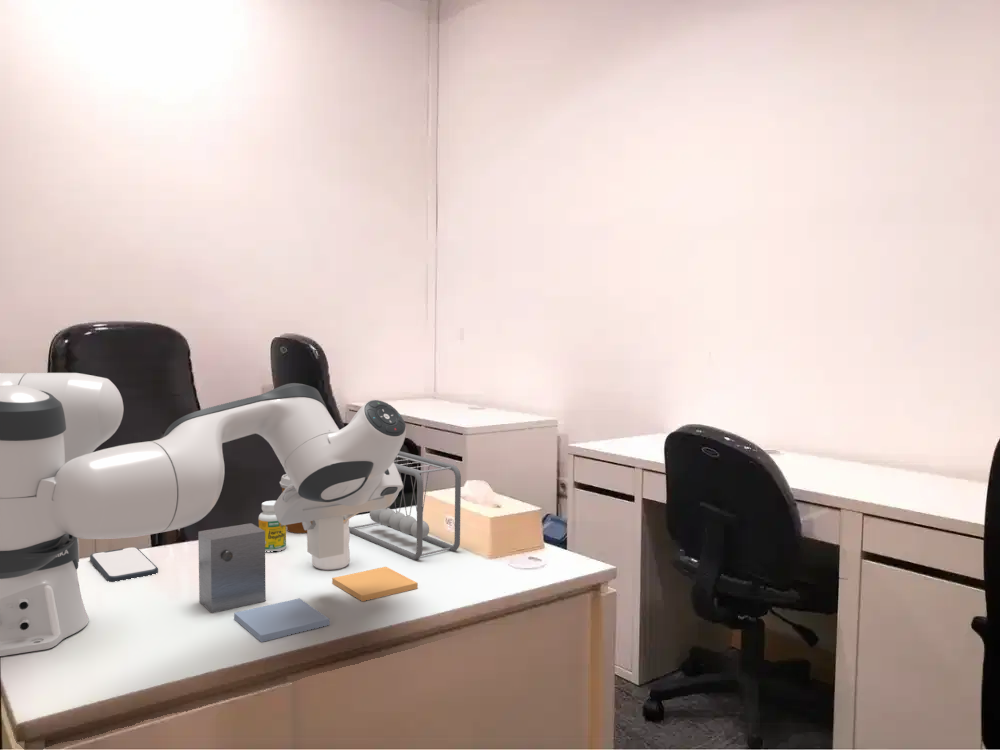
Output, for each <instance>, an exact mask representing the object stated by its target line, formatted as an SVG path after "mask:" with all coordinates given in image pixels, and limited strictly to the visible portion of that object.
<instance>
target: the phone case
mask: <svg viewBox="0 0 1000 750" xmlns="http://www.w3.org/2000/svg"><path fill="white" fill-rule="evenodd" d="M89 561H91V562H92V563H91V562H90V563H91V564H92V565H93V567H94V568H95V569H96V570H97V571H98V572H99V574H101V576H102V577H103V578H104V579H105V580H106V581H107V582H108V581H109V583H116V582H115V581H117V582H121V581H120V580H123V581H126V579H128V580H132V579H131V578H134V579H138V578H137V577H139V578H144V577H143V576H145V577H149V576H148V575H150V576H153V575H152V574H155V575H157V574H158V573H159V567H157V565H155V564H154V562H152V561H151V560H150V559H149V558H148V557H147V556H146V555H145V553H143V552H142V551H141V550H140V549H139V548H138V547H134V546H133V547H132V546H131V547H125V548H120V549H119V548H118V549H113V550H108V551H107V550H106V551H100V552H93V553H91V554H90V556H89ZM156 573H157V574H156Z"/></svg>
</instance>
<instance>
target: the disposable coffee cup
mask: <svg viewBox="0 0 1000 750" xmlns="http://www.w3.org/2000/svg"><path fill="white" fill-rule="evenodd" d="M291 484H292V482H291V481H290V479H289V477H288V475H287V474H286V473H285V474H283V475H282V476H281V478H280V481H279V485H280V488H281V493H282V492H283V491H284V490H285V489H286V488H287V487H288V486H289V485H291ZM286 531H288V532H289V531H290V532H289V533H292V532H293V533H294V534H307V530H304V527H303V525H302V522H300V523H294V524H288V525H286ZM293 533H292V534H293Z"/></svg>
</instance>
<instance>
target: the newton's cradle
mask: <svg viewBox="0 0 1000 750" xmlns="http://www.w3.org/2000/svg"><path fill="white" fill-rule="evenodd" d="M400 458H401V459H400ZM399 459H400V460H399ZM403 460H405V461H407V462H406V466H405V463H403V464H402V463H401V464H398V462H400V461H401V462H402V461H403ZM409 461H412V463H411V462H410V463H409ZM393 462H394V464H395V466H396V468H397V470H398V472H399V475H400V477H401V478H402V475H401V474H404V479H403V488H402V489H401V497H400V498H401V499H400V504H399V510H398V511H397V505H396V500H395V501H394V502H393V503H394V506H395V507H394V508H395V511H394V510H393V509H392V508H391V505H390V506H389V507H387V508H385V509H380V510H374V511H369V517H370V519H371V521H373V523H367V524H366V523H365V524H361V525H356V526H349V532H350V534H353V535H355V536H357V537H360V538H361V539H364V540H366V541H369V542H371V543H374V544H376V545H379V546H380V547H383V548H386V549H388V550H389V551H392V552H394V553H397V554H399V555H401V556H404V557H407V558H409V559H411V560H415V561H417V560H419V559H421V557H423V556H427V555H431V554H436V553H440V552H445V551H451V552H456V551H457V550H458V549H459V547H460V545H461V500H462V499H461V495H462V493H461V491H462V490H461V489H462V488H461V487H462V485H461V483H462V475H461V472H460V470H459V468H458V467H457V465H454V464H451V463H446V462H443V461H440V460H435V459H432V458H428V457H424V456H421V455H416V454H412V453H409V452H405V451H401V450H400V451H399V453H398V455H397V456H396V460H394V461H393ZM413 463H414V464H417V466H413V467H410V466H409V467H408V465H410V464H411V465H412V464H413ZM419 464H421V465H422V464H423V465H425V467H428V468H427V469H426V470H419V468H421V467H423V465H422V466H421V465H420V466H419ZM430 467H434V469H430ZM435 468H436V469H435ZM445 470H446V471H447V470H448V471H452V472H453V474H454V542H453V543H454V544H450V543H447V542H446V541H445V542H444V541H442V540H439V539H437V538H434V537H433V536H432V537H431V536H429V533H430V525H429V523H427V522H426V521H425V520H424V519H423V517H424V516H423V515H424V506H425V499H426V492H427V484H428V479H429V473H432V472H440V471H445ZM426 473H427V477H426V483H425V489H424V483H423V482H424V480H423V477H422V475H421V474H426ZM406 475H409V476H410V481H411V486H412V498H411V503H410V510H409V515H408V513H407V507H406V506H407V505H406V500H405V499H406V498H405V492H404V488H405V483H406V482H405V481H406ZM412 476H413V477H414V478H415V479H414V482H413V477H412ZM413 483H414V484H413ZM415 489H416V495H415ZM424 490H425V491H424ZM402 500H403V502H404V509H405V514H406V515H405V514H404V513H403V512H401V506H402ZM413 500H414V503H415V505H414V506H415V510H416V518H415V517H413V516H411V513H412V505H413ZM379 524H381V525H383V526H384V527H389V528H391V529H393V530H395V531H398V532H399V531H400V532H402V533H403V534H406V535H410V536H412V537H414V538H415V539H416V552H415V553H413V551H409V550H407V549H404V548H402V547H399V546H397V545H394V544H392V543H389V542H387V541H385V540H383V539H381V538H377V537H375V536H373V535H371V534H368V533H365V532H363V531H361V530H359V529H358V528H364V527H370V526H375V525H379ZM423 541H424V542H428V543H430V544H433V545H435V546H438V547H441V548H442V549H437V550H433V551H429V552H423Z"/></svg>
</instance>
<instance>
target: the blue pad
mask: <svg viewBox="0 0 1000 750" xmlns="http://www.w3.org/2000/svg"><path fill="white" fill-rule="evenodd" d="M233 618H234V619H233V620H235V621H236V622H237V623H239V624H240V626H242V627H243V628H244V629H245V630H246V631H248V632H249V633H250V635H252V636H253V637H255V638H256V640H258V641H259V642H261V643H263V642H267V641H268V642H269V641H271V640H276V639H280V638H284V637H287V635H288V636H291V634H292V635H295V633H296V634H299V632H300V633H304V632H308V631H312V630H315V629H319V627H320V628H323V626H324V627H327V625H328V626H330V618H329V617H327V616H326V615H324V614H323V613H322V612H320V611H319V610H317V609H316V608H314V607H313V606H311V604H308V603H307V602H305V601H304V600H303V599H301V598H300V597H299V598H298V597H297V598H295V599H290V600H286V601H281V602H276V603H272V604H267V605H263V606H258V607H254V608H250V609H249V608H248V609H246V610H245V609H244V610H241V611H240V610H239V611H236V612H234V613H233ZM314 628H315V629H314ZM311 629H312V630H311ZM307 630H308V631H307ZM303 631H304V632H303Z"/></svg>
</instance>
